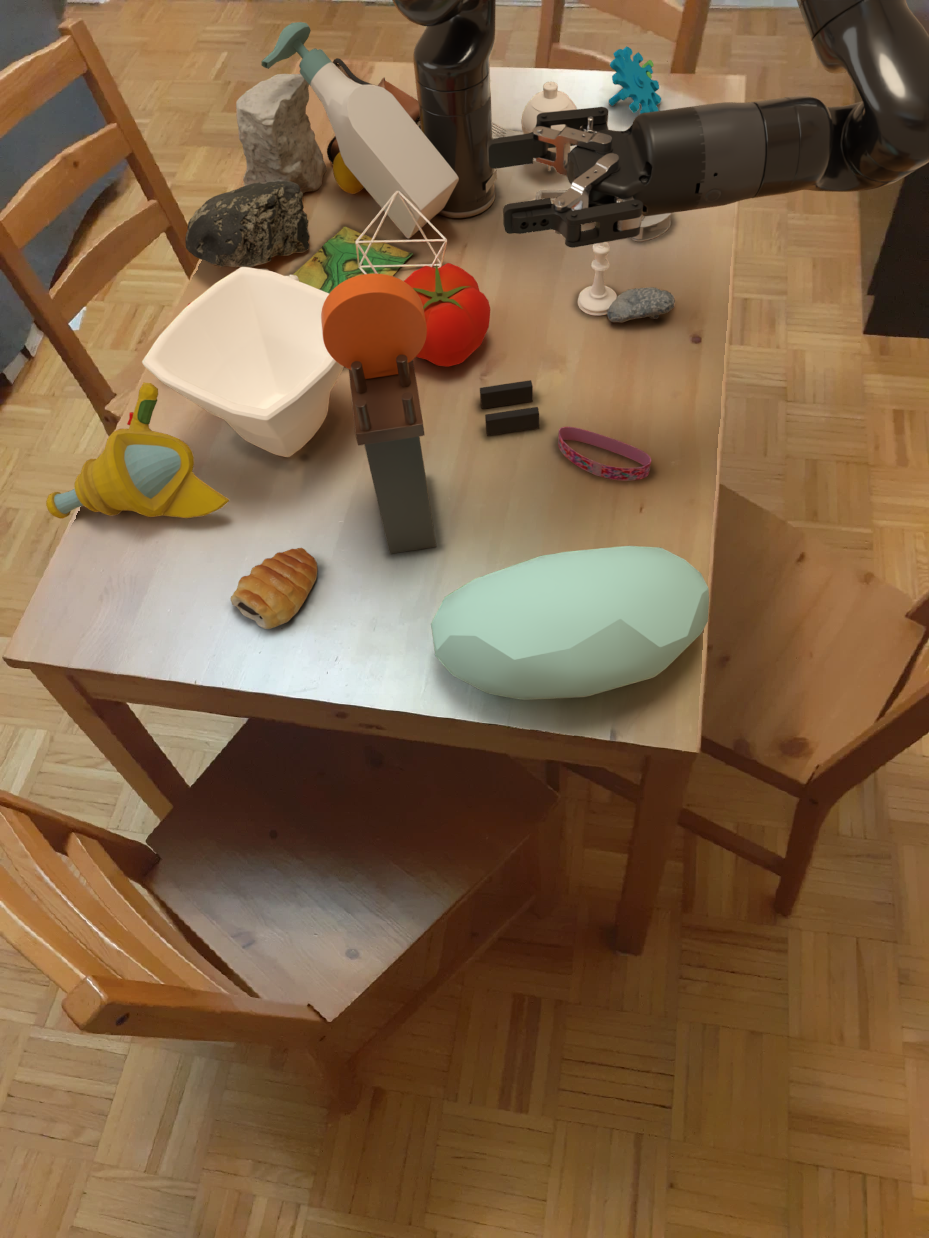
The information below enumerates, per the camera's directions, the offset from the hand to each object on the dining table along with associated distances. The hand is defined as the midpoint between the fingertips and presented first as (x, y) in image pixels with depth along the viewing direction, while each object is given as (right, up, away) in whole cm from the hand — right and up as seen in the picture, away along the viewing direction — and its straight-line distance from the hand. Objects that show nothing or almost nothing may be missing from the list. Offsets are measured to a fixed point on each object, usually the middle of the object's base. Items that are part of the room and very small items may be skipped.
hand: (495, 186), depth 74 cm
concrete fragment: (-28, +24, +49) cm, 61 cm away
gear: (+23, +41, +63) cm, 78 cm away
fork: (+9, +35, +61) cm, 71 cm away
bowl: (-23, -13, +34) cm, 43 cm away
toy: (-42, -12, +24) cm, 50 cm away
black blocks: (+3, -11, +33) cm, 35 cm away
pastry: (-22, -32, +22) cm, 45 cm away
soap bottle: (-7, +17, +46) cm, 49 cm away
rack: (-10, -14, +11) cm, 20 cm away
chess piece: (+14, +5, +42) cm, 44 cm away
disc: (-10, -12, +11) cm, 19 cm away
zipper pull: (+16, +18, +50) cm, 55 cm away
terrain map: (-17, +12, +48) cm, 52 cm away
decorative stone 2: (+5, -42, +16) cm, 45 cm away
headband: (+13, -17, +29) cm, 36 cm away
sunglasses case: (-15, +37, +63) cm, 74 cm away
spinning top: (+9, +28, +56) cm, 64 cm away
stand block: (-9, -24, +26) cm, 36 cm away
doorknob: (-17, +24, +51) cm, 59 cm away
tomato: (-5, -1, +39) cm, 40 cm away
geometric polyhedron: (-5, +12, +47) cm, 49 cm away
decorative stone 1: (-25, +26, +58) cm, 68 cm away
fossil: (+19, +6, +40) cm, 44 cm away
